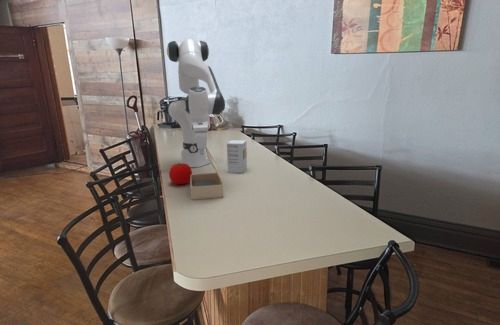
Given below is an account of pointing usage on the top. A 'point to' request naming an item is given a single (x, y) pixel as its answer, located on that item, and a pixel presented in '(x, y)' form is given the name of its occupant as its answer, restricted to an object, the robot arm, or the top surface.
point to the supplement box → (236, 156)
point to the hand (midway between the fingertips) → (201, 154)
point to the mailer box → (205, 186)
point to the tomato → (180, 173)
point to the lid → (214, 165)
